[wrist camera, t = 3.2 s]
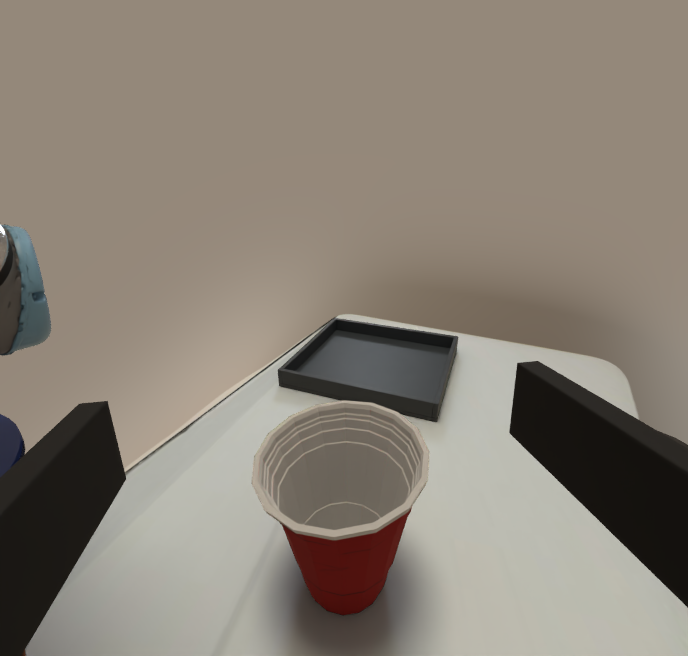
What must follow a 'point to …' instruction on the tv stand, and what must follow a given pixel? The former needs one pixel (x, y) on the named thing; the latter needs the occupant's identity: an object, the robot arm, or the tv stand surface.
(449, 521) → the tv stand surface
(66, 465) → the robot arm
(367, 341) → the tray
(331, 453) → the plastic cup
